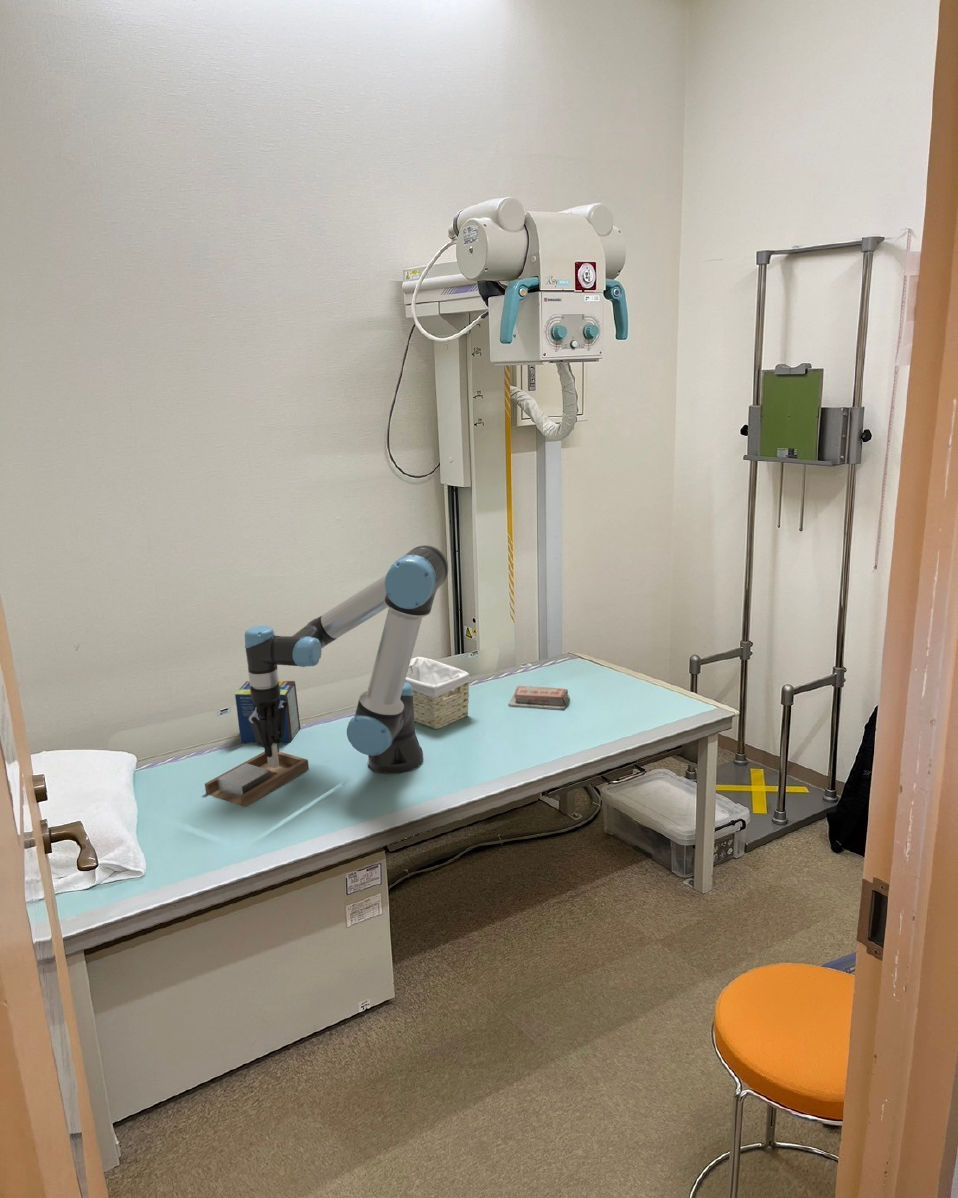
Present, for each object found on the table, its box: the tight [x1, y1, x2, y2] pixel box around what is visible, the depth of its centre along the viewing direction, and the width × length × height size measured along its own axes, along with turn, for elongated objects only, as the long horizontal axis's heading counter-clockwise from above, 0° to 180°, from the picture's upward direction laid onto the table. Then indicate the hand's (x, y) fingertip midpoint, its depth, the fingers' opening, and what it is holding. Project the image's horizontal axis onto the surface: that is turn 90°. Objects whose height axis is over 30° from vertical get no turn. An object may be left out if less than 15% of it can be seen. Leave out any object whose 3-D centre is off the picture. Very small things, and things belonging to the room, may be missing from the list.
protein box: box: [234, 680, 301, 744], centre depth 271 cm, size 10×15×16 cm
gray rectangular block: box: [217, 763, 271, 800], centre depth 239 cm, size 9×10×4 cm
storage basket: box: [405, 656, 471, 730], centre depth 282 cm, size 24×16×15 cm
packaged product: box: [508, 685, 571, 711], centre depth 289 cm, size 18×5×10 cm
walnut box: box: [204, 750, 309, 808], centre depth 243 cm, size 14×23×4 cm, turn 147°
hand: (273, 765), depth 247 cm, fingers closed
